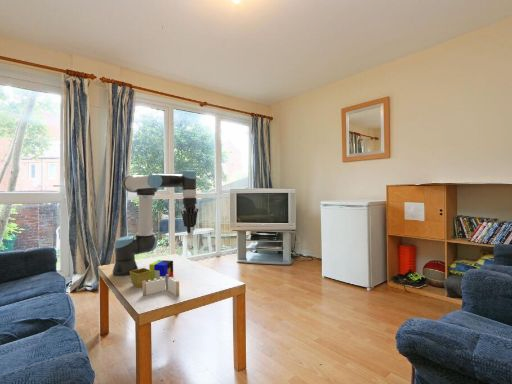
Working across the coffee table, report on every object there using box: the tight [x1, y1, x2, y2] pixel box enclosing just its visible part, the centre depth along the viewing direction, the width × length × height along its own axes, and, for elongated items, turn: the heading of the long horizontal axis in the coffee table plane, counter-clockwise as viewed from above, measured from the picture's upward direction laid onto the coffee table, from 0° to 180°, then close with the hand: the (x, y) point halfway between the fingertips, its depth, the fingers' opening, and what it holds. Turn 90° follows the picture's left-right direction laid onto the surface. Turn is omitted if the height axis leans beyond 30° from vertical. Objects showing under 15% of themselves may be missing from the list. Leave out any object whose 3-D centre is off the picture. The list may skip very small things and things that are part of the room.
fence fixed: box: [141, 274, 169, 297], centre depth 143 cm, size 14×2×8 cm, turn 131°
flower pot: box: [129, 267, 151, 288], centre depth 153 cm, size 9×9×9 cm
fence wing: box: [167, 276, 180, 297], centre depth 141 cm, size 12×2×7 cm, turn 41°
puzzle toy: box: [148, 259, 174, 281], centre depth 166 cm, size 10×10×10 cm
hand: (190, 238), depth 156 cm, fingers closed
